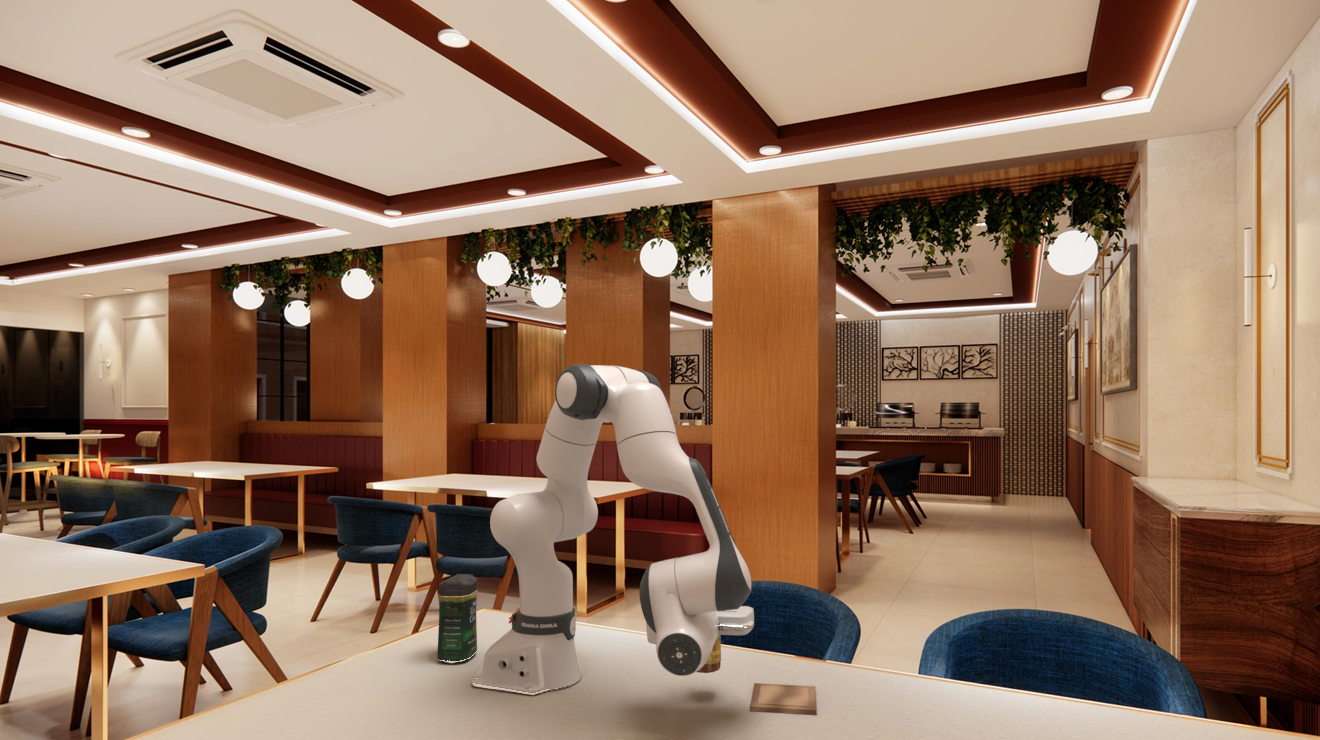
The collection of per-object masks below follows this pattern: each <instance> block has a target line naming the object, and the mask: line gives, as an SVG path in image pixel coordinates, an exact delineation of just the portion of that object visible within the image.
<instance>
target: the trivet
mask: <svg viewBox="0 0 1320 740" xmlns="http://www.w3.org/2000/svg"><path fill="white" fill-rule="evenodd" d="M749 711H750V712H763V713H780V714H781V713H782V714H793V715H794V714H796V715H797V714H799V715H810V716H811V715H812V716H818V714H817V712H818V711H817V694H816V685H815V686H814V685H797V684H796V685H793V684H780V683H779V684H777V683H763V682H762V683H760V682H759V683H758V682H757V683H756V682H754V684H753V688H752V693H751V698H750V704H749Z"/></svg>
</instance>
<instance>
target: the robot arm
mask: <svg viewBox="0 0 1320 740" xmlns="http://www.w3.org/2000/svg"><path fill="white" fill-rule="evenodd" d="M554 390H555V391H554V396H555V397H554V398H555V401H554V403H553V404H552V407H551V410H550V413H549V415H548V416H547V417H548V418H547V420H546V425H545V427H544V430H543V434H542V436H541V441H540V445H539V448H538V452H537V454H536V463H537V467H538V469H539V470H540V472H541V473H542V474H543V475H544V476H545V477H546V478H547V480H546V481H547V482H546V485H545V488H544V490H541V491H534V492H525V493H518V494H515V495H513V496H509V497H507V498H504V499H502V500H499V501H498V502H497V503H496V504H495V506H494V507H493V509H492V510H491V511H492V512H491V514H490V518H489V519H490V521H489V524H490V526H489V527H490V530H491V534H492V536H493V538H494V540H495V541H496V542H497V543H498V544H499V545H500V546H501V547H503V548H504V549H506V551H507V552H508V553H509V555H510V556H511V558H512V559H513V561H514V564H515V568H516V571H517V576H518V584H519V585H518V586H519V607H518V608H516V609H515V610H516V611H515V612H514V613H512V614H511V616H510V617H509V618H508V624H511V629H509V630H508V631H507V632H506V633H505V634H503V635H502V636H501V637H500V638H498V639H497V640H496V641H495V642H494V643H493V644H491V646H489V648H488V649H487V650H486V652H485V655H484V658H483V664H482V667H481V668H480V669H479V670H477V671H476V672H475V673H474V674H473V676H472V677H471V682H472V683H475V684H481V685H486V686H492V687H499V688H505V689H511V690H516V691H522V692H528V693H536V692H540V691H542V690H546V689H555V688H561V687H564V688H567V687H566V686H568V687H570V686H573V685H574V684H576V683H578V682H579V681H580V680H581V678H582V673H581V670H580V666H579V663H578V662H579V661H578V657H577V652H576V643H575V642H576V641H575V637H576V630H577V629H576V628H577V627H576V626H577V621H576V620H577V619H576V610H575V609H576V608H575V607H574V593H573V592H574V589H573V588H574V587H573V586H574V585H573V583H574V581H573V572H572V570H571V568H570V567H568V565H566V564H565V563H563V562H562V561H559V560H558V558H557V556H556V553H555V548H554V547H555V546H554V545H555V543H558V542H563V541H569V540H575V539H576V538H579V537H581V536H583V535H585V534H587V533H589V532H591V531H592V530H593V529H594V528H595V526H596V525H597V521H598V516H599V510H598V505H597V502H596V500H595V498H594V496H593V495H592V494H591V493H590V491H589V486H588V477H589V471H590V467H591V462H592V459H593V455H594V452H595V449H596V445H597V442H598V439H599V435H600V431H601V428H602V425H603V423H607V424H608V423H612V425H613V428H614V434H615V441H616V448H617V453H618V458H619V463H620V466H621V469H622V473H623V474H624V475H625V477H626V478H627V479H628V480H629V481H630V482H632V483H633V484H634V485H635V486H638V487H640V488H642V489H645V490H648V491H653V492H659V493H665V494H666V493H667V494H673V495H678V496H681V497H684V498H687V500H689V501H690V502H691V503H692V505H693V506H694V508H695V511H696V514H697V516H698V519H699V522H700V524H701V526H702V529H703V531H704V534H705V536H706V539H707V541H708V544H709V548H708V549H707V550H706V551H703V552H699V553H693V554H690V555H685V556H680V557H674V558H669V559H664V560H660V561H656V562H651V563H650V564H649V565H648V566H647V568H646V569H645V571H644V573H643V575H642V577H641V581H640V585H639V591H638V592H639V602H640V608H641V612H642V614H643V619H644V620H645V627H646V638H647V642H648V643H649V644H653V645H655V646H656V647H655V650H656V651H655V653H656V656H657V657H656V658H657V660H658V663H660V666H662V668H663V669H664V670H665V671H667V672H668V673H670V674H672V675H675V676H680V677H681V676H682V677H685V676H690V675H693V674H695V673H698V672H697V671H698V670H700V669H701V668H702V667H703V666H704V665H705V663H706V662H707V660H708V658H709V656H710V654H711V652H712V649H713V646H714V644H715V642H716V639H717V637H718V635H722V636H745V635H747V634H749V633H750V632H751V631H752V630H753V628H754V626H755V611H754V607H751V606H748V605H743V604H744V603H745V602H746V601H747V600H748V597H749V596H750V595H751V594H752V589H753V588H752V578H751V573H750V570H749V566H748V565H747V562H746V561H745V559H744V558H743V556H742V554H741V552H740V551H739V548H738V546H737V543H736V542H735V539H734V537H733V534H732V533H731V530H730V528H729V525H728V522H727V520H726V518H725V515H724V513H723V511H722V508H721V505H720V503H719V500H718V498H717V495H716V493H715V491H714V489H713V486H712V484H711V481H710V479H709V477H708V474H707V473H706V471H705V469H704V467H703V466H702V464H701V463H700V462H699V461H698V460H697V459H696V458H693V457H689V456H688V455H687V454H686V453H685V451H684V450H683V449H682V447H681V445H680V441H679V440H678V435H677V430H676V425H675V423H674V419H673V416H672V413H671V409H670V407H669V404H668V402H667V399H666V396H665V394H664V392H663V391H662V387H661V384H660V382H659V380H658V379H657V378H656V377H655V376H654V375H653V374H651V373H650V372H647V371H645V370H642V369H634V368H633V369H632V368H630V367H626V366H621V365H620V366H619V365H613V364H612V365H602V364H601V365H600V364H597V365H596V364H593V365H590V364H587V363H577V364H572V365H569V366H567V367H565V368H564V369H563V370H562V371H561V373H560V374H559V376H558V378H557V381H556V383H555V387H554ZM475 678H478V679H475ZM572 684H573V685H572ZM569 685H570V686H569ZM561 689H562V688H561Z"/></svg>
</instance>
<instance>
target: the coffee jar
mask: <svg viewBox="0 0 1320 740" xmlns="http://www.w3.org/2000/svg"><path fill="white" fill-rule="evenodd" d="M477 598H478V579H477V578H476V576H474V575H473V574H472V573H471V574H470V573H456V574H455V575H454V576H453V575H452V576H451V577H449V578H447V579H446V580H443V581H441V582H440V583H439V584H438V613H439V614H438V635H437V637H438V638H437V652H436V653H437V655H436V656H437V657H436V659H437V658H438V659H439V660H445V661H447V660H448V661H449V660H450V661H460V660H464V659H467V658H469V657H471V656H472V655H473V654H474V653H475V652H476V651H477V652H478V634H477V600H478V599H477ZM477 652H476V653H477ZM438 659H437V660H438Z"/></svg>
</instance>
